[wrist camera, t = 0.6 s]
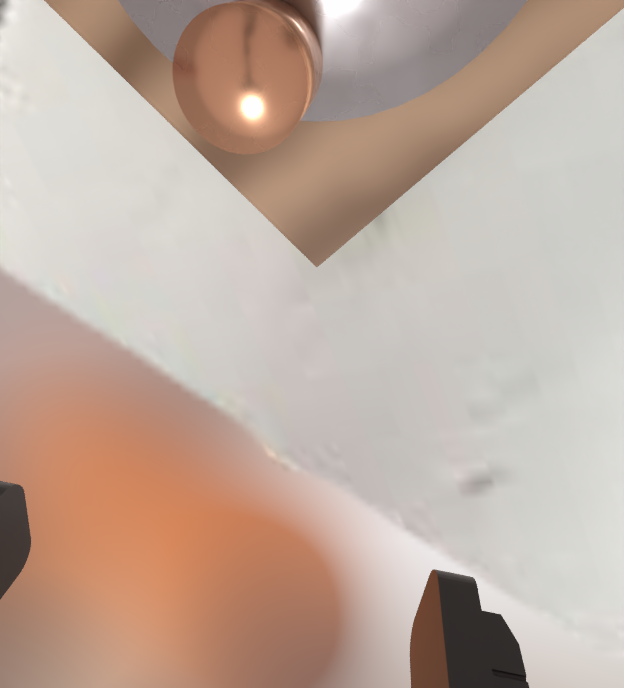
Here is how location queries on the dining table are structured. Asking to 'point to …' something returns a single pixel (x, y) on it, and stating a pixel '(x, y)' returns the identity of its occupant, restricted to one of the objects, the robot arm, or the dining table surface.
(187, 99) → the dial
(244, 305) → the dining table surface
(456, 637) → the robot arm
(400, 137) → the dial base
